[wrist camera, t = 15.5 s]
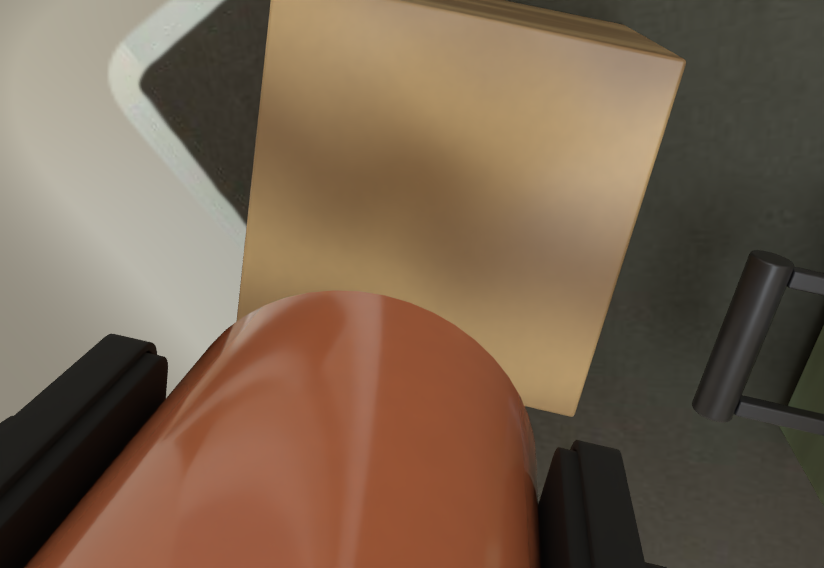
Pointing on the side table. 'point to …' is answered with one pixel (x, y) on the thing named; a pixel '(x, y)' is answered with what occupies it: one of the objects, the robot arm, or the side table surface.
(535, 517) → the spice jar
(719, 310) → the side table surface
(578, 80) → the oak stand
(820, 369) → the drawer
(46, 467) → the robot arm
